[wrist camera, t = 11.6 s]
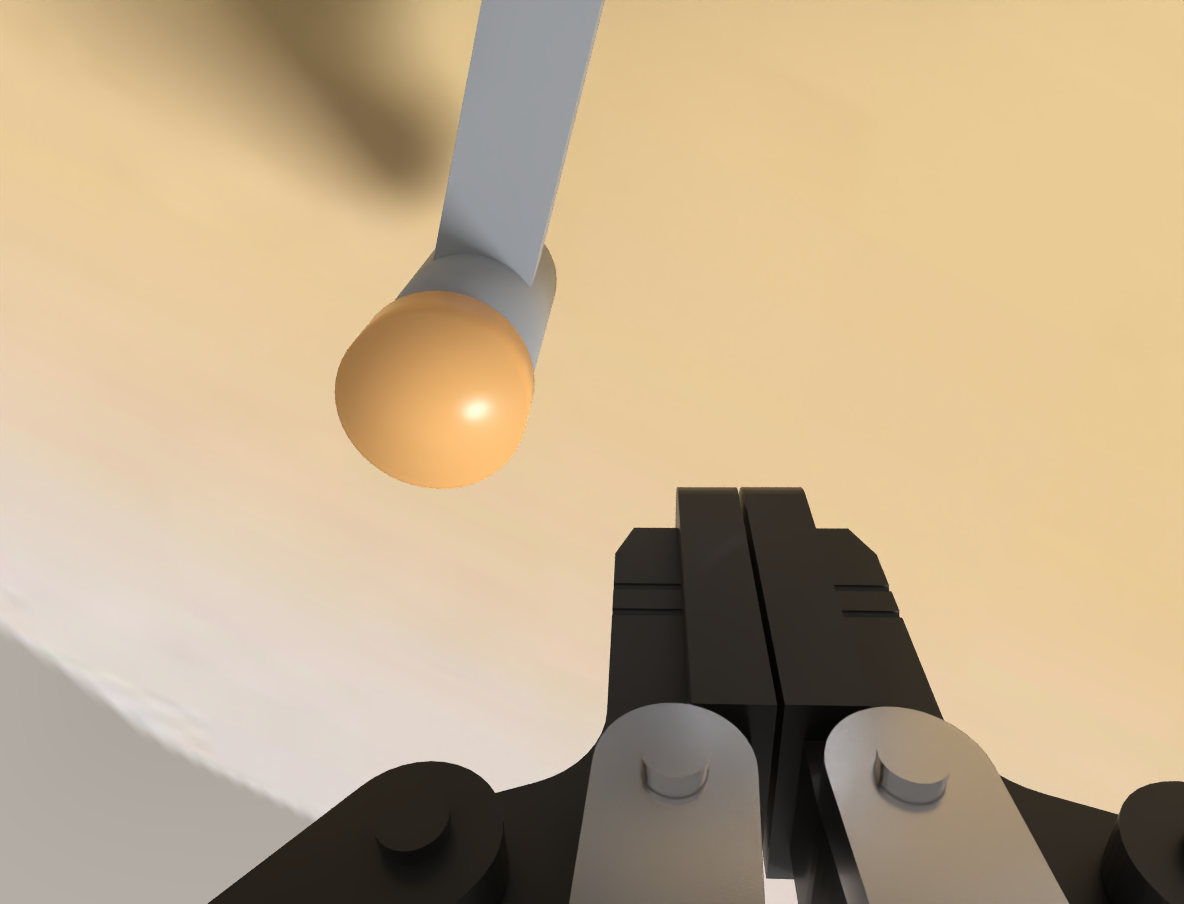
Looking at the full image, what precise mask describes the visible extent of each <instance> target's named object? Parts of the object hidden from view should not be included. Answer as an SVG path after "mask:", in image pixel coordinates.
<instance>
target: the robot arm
mask: <svg viewBox="0 0 1184 904" xmlns="http://www.w3.org/2000/svg"><path fill="white" fill-rule="evenodd" d="M762 851H763V855H762ZM763 858H764V865H765V873H766V878H770V879H794V881H795V887H796V893H797V899H798V904H1184V782H1180V781H1169V782H1158V783H1153V784H1149V785H1146V786H1144V787H1141V788H1139V789H1137V790H1136V791H1135V792H1133V793H1132V794H1130V795H1129V797H1128V798H1127V799H1126V801H1125V802H1124V803H1123V805H1122V808H1121V810H1120V813H1119V815H1118V814H1114V813H1111V812H1107V811H1104V810H1100V809H1096V808H1093V807H1089V806H1086V805H1082V804H1078V803H1075V802H1071V801H1068V800H1064V799H1061V798H1057V797H1053V796H1050V795H1046V794H1043V793H1040V792H1037V791H1034V790H1031V789H1028V788H1025V787H1023V786H1021V785H1018V784H1016V783H1014V782H1012V781H1009V780H1008V779H1006V778H1004V777H1002V776H1000V775H999V773H998V772H997V770H996V768H995V766H994V765H993V763H992V762H991V760H990V758H989V757H988V755H987V754H986V753H985V752H984V751H983V750H982V748H981V747H980V746H979V745H978V744H977V743H976V742H975V741H974V740H972V739H971V738H970V737H969V736H968V735H967V734H965V733H964V732H962V731H961V730H959V729H958V728H956V727H955V726H954V725H952V724H950V723H948V722H946V721H944V719H943V717H942V715H941V712H940V710H939V707H938V705H937V702H936V700H935V697H934V695H933V693H932V690H931V688H930V685H929V683H928V680H927V678H926V675H925V673H924V670H923V668H922V665H921V663H920V661H919V658H918V656H917V653H916V651H915V648H914V646H913V643H912V641H911V638H910V636H909V633H908V631H907V629H906V626H905V624H904V621H903V619H902V618H900V617H899V609H898V606H897V604H896V601H895V599H894V597H893V594H892V592H891V591H889V584H888V582H887V579H886V577H885V574H884V572H883V569H882V567H881V565H880V562H879V560H878V557H877V555H876V554H875V553H874V552H873V551H872V550H871V549H870V548H869V547H868V546H866V545H865V544H864V543H863V542H862V541H861V540H860V539H859V538H858V537H857V536H855V535H854V534H853V533H852V532H851V531H850V530H849V529H819V528H816V527H815V524H814V521H813V518H812V514H811V511H810V508H809V505H808V502H807V499H806V495H805V492H804V490H803V489H802V488H801V487H741V488H740V491H739V494H738V490H737V488H731V487H677V492H676V528H634V529H633V530H632V531H631V533H630V534H629V536H628V537H627V538H626V540H625V541H624V542H623V544H622V545H621V546H620V548H619V549H618V550H617V552H616V553H615V572H614V591H613V615H612V629H611V648H610V667H609V686H608V705H607V716H606V722H605V725H604V728H603V731H602V733H601V735H600V737H599V739H598V740H597V742H596V744H595V745H594V746H593V747H592V749H591V750H590V751H589V752H588V753H587V754H586V755H585V756H584V757H583V758H582V759H581V760H580V761H578V762H577V763H576V764H574V765H573V766H571V767H570V768H568V769H567V770H565V771H563V772H561V773H559V774H557V775H555V776H553V777H551V778H548V779H545V780H542V781H539V782H536V783H532V784H528V785H524V786H521V787H517V788H513V789H509V790H506V791H502V792H498V793H495V792H494V791H493V789H492V788H491V787H490V785H489V784H488V783H487V782H486V781H485V780H484V779H483V778H482V777H480V776H479V775H477V774H476V773H474V772H473V771H471V770H469V769H467V768H464V767H462V766H459V765H455V764H451V763H446V762H435V761H428V762H416V763H412V764H407V765H402V766H399V767H397V768H394V769H391V770H388V771H386V772H384V773H382V774H380V775H378V776H376V777H374V778H373V779H371V780H370V781H368V782H367V783H365V784H364V785H362V786H361V787H360V788H358V789H357V790H356V791H354V792H353V793H352V794H350V795H349V796H348V797H347V798H345V799H344V800H343V801H341V802H340V803H339V804H337V805H336V806H335V807H333V808H332V809H331V810H330V811H328V812H327V813H326V814H324V815H323V816H322V817H320V818H319V819H318V820H316V821H315V822H314V823H313V824H311V825H310V826H309V827H307V828H306V829H305V830H303V831H302V832H301V833H299V834H298V835H297V836H296V837H294V838H293V839H292V840H290V841H289V842H288V843H286V844H285V845H284V846H282V847H281V848H280V849H278V850H277V851H276V852H275V853H273V854H272V855H271V856H269V857H268V858H267V859H266V860H264V861H263V862H261V863H260V864H259V865H258V866H256V867H255V868H254V869H252V870H251V871H250V872H248V873H247V874H246V875H245V876H243V877H242V878H241V879H239V880H238V881H237V882H235V883H234V884H233V885H232V886H230V887H229V888H227V889H226V890H225V891H224V892H222V893H221V894H220V895H218V896H217V897H216V898H215V899H213V900H212V901H210V902H209V903H208V904H765V894H764V875H763Z"/></svg>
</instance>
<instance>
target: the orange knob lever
mask: <svg viewBox="0 0 1184 904" xmlns="http://www.w3.org/2000/svg"><path fill="white" fill-rule="evenodd" d="M604 1H605V0H482V3H481V8H480V13H479V19H478V24H477V30H476V35H475V40H474V46H473V51H472V56H471V62H470V67H469V72H468V78H467V83H466V88H465V94H464V99H463V104H462V110H461V115H460V121H459V126H458V131H457V137H456V142H455V147H454V153H453V158H452V163H451V169H450V174H449V179H448V185H447V190H446V195H445V201H444V206H443V211H442V217H441V222H440V228H439V233H438V238H437V244H436V249H435V250H434V251H433V253H432V254H431V255H430V256H429V258H428V259H427V260H426V261H425V263H424V264H423V265H422V266H421V268H420V269H419V270H418V272H417V273H416V274H415V275H414V277H413V278H412V279H411V280H410V282H409V283H408V284H407V285H406V287H405V288H404V289H403V291H402V292H401V293H400V294H399V296H398V297H397V298H396V299H395V301H393V302H392V303H390V304H389V305H387V306H386V307H384V308H383V309H382V310H381V311H380V312H379V313H377V314H376V315H375V316H374V318H373V319H372V320H371V321H370V323H369V324H368V325H367V326H366V328H365V329H364V330H363V331H362V332H361V334H360V335H359V336H358V337H357V339H356V340H355V341H354V342H353V344H352V345H351V346H350V347H349V349H348V350H347V352H346V353H345V355H344V357H343V359H342V361H341V363H340V366H339V369H338V372H337V377H336V382H335V400H336V407H337V412H338V416H339V418H340V421H341V424H342V426H343V428H344V430H345V432H346V434H347V436H348V438H349V439H350V441H351V442H352V443H353V445H354V446H355V448H356V449H357V450H358V451H359V452H360V453H361V454H362V456H364V457H365V458H366V459H367V460H368V461H369V462H370V463H371V464H373V465H374V466H375V467H377V468H378V469H379V470H381V471H382V472H384V473H386V474H388V475H389V476H391V477H393V478H395V479H398V480H400V481H402V482H405V483H408V484H411V485H415V486H420V487H425V488H433V489H451V488H458V487H464V486H467V485H471V484H474V483H476V482H479V481H481V480H484V479H485V478H487V477H489V476H491V475H492V474H494V473H495V472H496V471H498V470H499V469H500V468H502V467H503V466H504V465H505V464H506V463H507V462H508V461H509V459H510V458H511V457H512V455H513V454H514V453H515V451H516V449H517V448H518V446H519V444H520V442H521V439H522V436H523V433H524V430H525V427H526V423H527V419H528V415H529V411H530V407H531V403H532V398H533V393H534V370H535V366H536V363H537V359H538V355H539V352H540V348H541V344H542V340H543V337H544V333H545V329H546V326H547V322H548V318H549V314H550V311H551V307H552V303H553V299H554V296H555V291H556V270H555V266H554V262H553V259H552V256H551V254H550V252H549V250H548V249H547V247H546V246H545V244H544V242H545V238H546V234H547V230H548V226H549V222H550V218H551V214H552V210H553V205H554V201H555V197H556V193H557V189H558V185H559V181H560V177H561V173H562V169H563V165H564V161H565V157H566V153H567V149H568V145H569V141H570V137H571V133H572V129H573V125H574V121H575V117H576V113H577V109H578V105H579V101H580V97H581V93H582V89H583V85H584V81H585V77H586V73H587V69H588V65H589V61H590V57H591V53H592V49H593V45H594V41H595V37H596V33H597V29H598V25H599V21H600V17H601V13H602V9H603V5H604Z"/></svg>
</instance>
